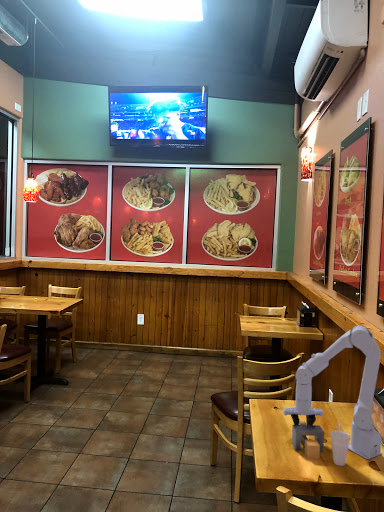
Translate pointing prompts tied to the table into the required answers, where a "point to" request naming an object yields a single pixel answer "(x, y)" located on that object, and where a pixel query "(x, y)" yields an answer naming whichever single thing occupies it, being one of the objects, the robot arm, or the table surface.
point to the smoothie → (339, 446)
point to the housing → (307, 431)
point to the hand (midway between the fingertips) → (302, 433)
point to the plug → (310, 445)
